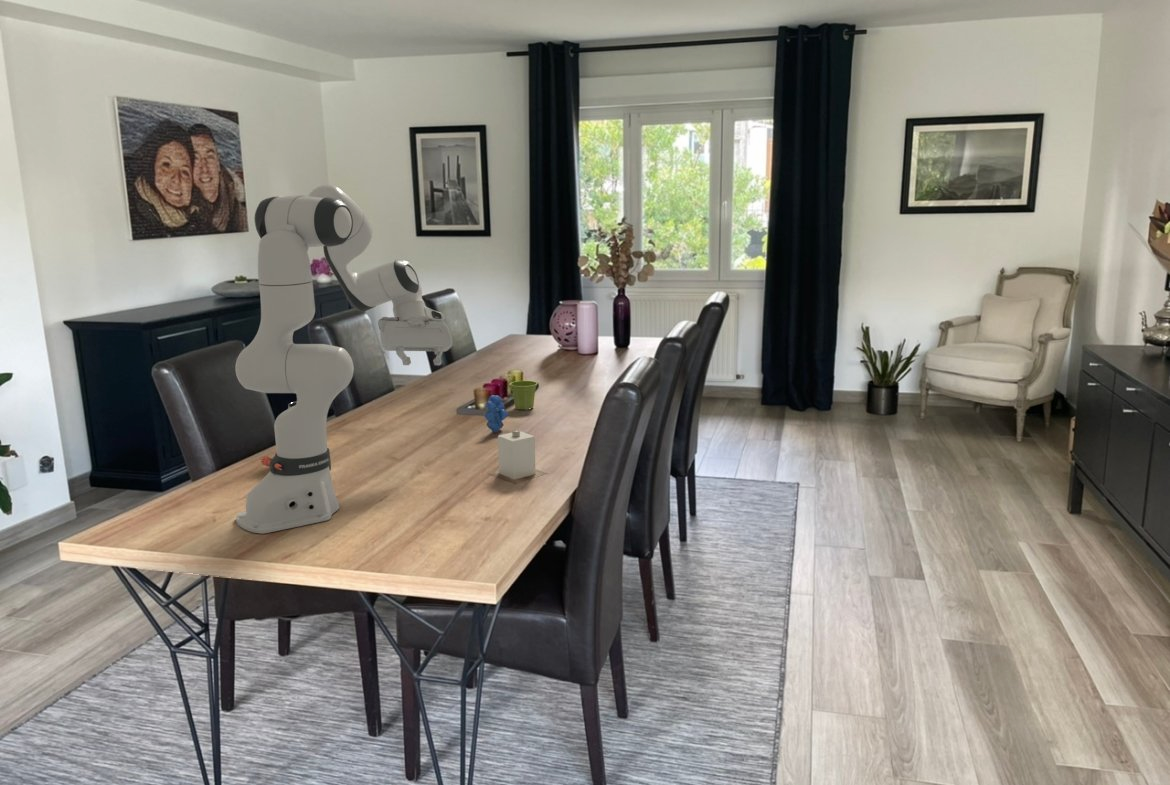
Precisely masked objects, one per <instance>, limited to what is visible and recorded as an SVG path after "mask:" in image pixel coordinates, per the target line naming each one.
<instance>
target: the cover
mask: <svg viewBox="0 0 1170 785" xmlns="http://www.w3.org/2000/svg"><path fill="white" fill-rule="evenodd" d="M497 449H498V450H497V452H498V453H497V454H498V470H499V473H500V474H502V475H505V476H507V477H509V478H511V479H518V478H522V477H526V476H530V475H534V474H536V472H535V469H536V438H535V435H533V434H532V435H531V434H529V433H526V432H524V431H522V430H521V431H520V430H512V432H508V433H502V434H499V435H498V436H497Z"/></svg>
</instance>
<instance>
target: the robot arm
mask: <svg viewBox="0 0 1170 785" xmlns="http://www.w3.org/2000/svg"><path fill="white" fill-rule="evenodd" d="M254 226H255V229H256V232H257V234H258V236H259V237H260V240H259V243H258V252H257V275H258V277H257V278H258V286H259V287H258V289H259V294H260V298H259V299H260V323H259V327H258V330H257V333H256V334H255V336H254V338H253V339H252V341H251V342H250V343H249V344H248V345H247V346H245V347H244V348H243V349H242V350H241V351H240V353H239V355H238V357H236V361H235V367H234V368H235V369H234V370H235V375H236V378H237V380H238V382H239V384H240V385H241V386H242V388H244V389H245V390H250V391H254V392H257V393H265V394H295V395H296V401H297V403H296V405H295V406H293V407H291V408H289V409H288V408H287V409H286V410H284V411H282V412H281V413H279V414H278V416H277V417H276V419H275V421H274V425H273V428H274V437H275V439H274V440H275V449H276V453H275V454H274V456H273V458H272V457H269V456H266V455H265V456H262V457H261V458H262V459H260V462H261V464H262V465H263V466H266V467H269V470H270V471H269V472H268V473H266V475H265V476H264V477H263V478H262V479H260V480H259V482H258V483H257V484H256V485H255V486H254V487H253V488H251V489H250V490H249V491H248V492H247V496H246V501H245V502H246V503H245V511H241V512H239V513H237V514H236V517H235V520H236V521H235V522H236V524H237V525H238V526H239V527H240V528H242V529H243V530H245V531H248V532H251V533H254V534H261V535H262V534H268V533H273V532H279V531H283V530H287V529H293V528H297V527H302V526H306V525H311V524H315V523H321V522H327V521H328V520H330V519H332V517H333V514H334V513H336V512H337V511H338V510H339V508H340V503H339V501H338V499H337V496H336V493H335V488H334V485H333V480H332V475H331V471H332V464H331V463H332V460H331V452H330V448H328V440H327V420H328V419H327V418H328V413H329V409H330V407H331V405H332V403H333V402H334V400H335V399H336V397H337V396H338V395H339V394H340V393H341V392H342V391H344V390H345V389H346V388H347V387H348V386H349V385H350V383H351V381H352V379H353V377H354V369H355V366H354V362H353V359H352V357H351V355H350V354H349V352H348V350H346V349H345V348H344V347H340V346H337V345H331V344H327V343H326V344H325V343H294V341H293V340H294V339H293V336H294V332H295V331H297V330H300V329H301V328H303V327H305V326H306V325H308V324H309V323H310V322H311V321H312V320H313V319H314V317H315V314H316V303H315V292H314V284H313V273H312V268H311V262H310V256H309V254H308V250H309V248H316V247H318V248H319V247H323V254H324V258H325V260H326V262H327V264H328V266H329V268H330V270H331V271H332V273H333V276H334V278H336V280H337V282H338V284H339V285H340V288H341V289H342V291H343V293H344V295H345V297H346V300H347V301H348V304H349V305H350V306H351V307H352V309H355V310H358V311H359V312H367V311H370V310H372V309H374V308H376V307H377V306H379V305H383V304H385V303H388V302H392V312H393V316H392V317H388V316H383V317H381V318H380V319H378V321H377V325H378V329H379V331H380V332H379V333H380V343H381V348H383V350H384V351H386V352H388V351H390V352H391V351H392V352H395V353H396V355H397V356H398V358H400V360H401V362H402V365H403V366H410V365H411V364H412V361H411V357H410V356H407V354H406V353H405V352H434V355H435V357H434V358H433V360H432V361H433V365H434V366H441V365H442V361H443V360H442V355H443V353H444V352H447V351H449V350H450V349H451V348H452V346H453V345H454V344H453V343H454V341H453V337H452V335H451V331H450V328H449V326H448V325H447V323H446V322H445V319H446V317H445V315H444V313H443V312H439V311H437V310H434V309H432V308H429V307H428V306H426V303H425V301H424V299H423V292H422V286H421V284H420V283H421V282H420V280H419V277H418V274H417V272H416V270H415V268H414V266H413V264H412V263H411V262H409V261H407V260H400V259H394V260H390V261H386V262H385V263H382V264H379V265H376V266H375V267H372V268H369V269H366V270H362V271H359V272H354V270H353V268H352V266H351V265H350V262H352V261H353V260H354V259H356V258H357V257H359V256H360V255H361V254H363V253H364V252H365V251H366V250H367V248H368V247H369V245H370V243H371V242H372V237H373V226H372V223H371V221H370V220H369V218H368V216H367V214H366V213H365V212H364V211H363V209H362V208H361V207H360V206H359V205H358V203H357V202H355V201H354V199H353V198H351V196H349V195H348V194H347V193H346V192H345V191H343V190H342V189H341V188H339V187H337V186H336V185H333V184H321V185H320V186H319V185H318V186H317V187H316V188H314V189H313V190H312V191H311V192H309V194H308V195H303V194H302V195H287V196H286V195H285V196H279V195H278V196H277V195H276V196H272V197H268V198H267V197H266V198H265V199H263V200H261V201H260V202H259V204H258V206H257V208H256V209H255V213H254Z"/></svg>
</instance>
